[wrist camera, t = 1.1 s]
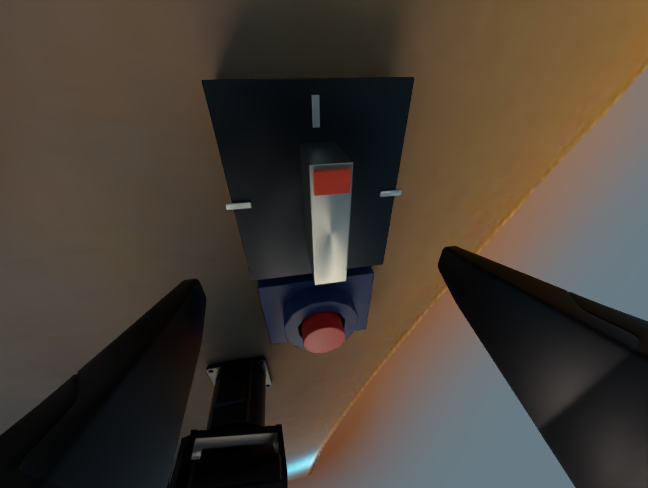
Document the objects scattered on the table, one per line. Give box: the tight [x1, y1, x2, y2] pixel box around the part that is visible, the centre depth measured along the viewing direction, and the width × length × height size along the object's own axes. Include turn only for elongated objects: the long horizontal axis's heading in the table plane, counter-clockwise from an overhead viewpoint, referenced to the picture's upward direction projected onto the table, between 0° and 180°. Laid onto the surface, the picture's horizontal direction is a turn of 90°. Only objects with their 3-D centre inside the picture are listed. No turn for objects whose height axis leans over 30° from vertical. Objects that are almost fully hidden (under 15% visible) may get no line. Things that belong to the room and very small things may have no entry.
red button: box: [301, 311, 346, 353], centre depth 21 cm, size 4×4×2 cm
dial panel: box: [202, 77, 414, 281], centre depth 16 cm, size 12×11×3 cm
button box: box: [258, 266, 374, 349], centre depth 22 cm, size 8×10×4 cm
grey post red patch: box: [300, 141, 353, 285], centre depth 13 cm, size 6×2×4 cm, turn 1°
